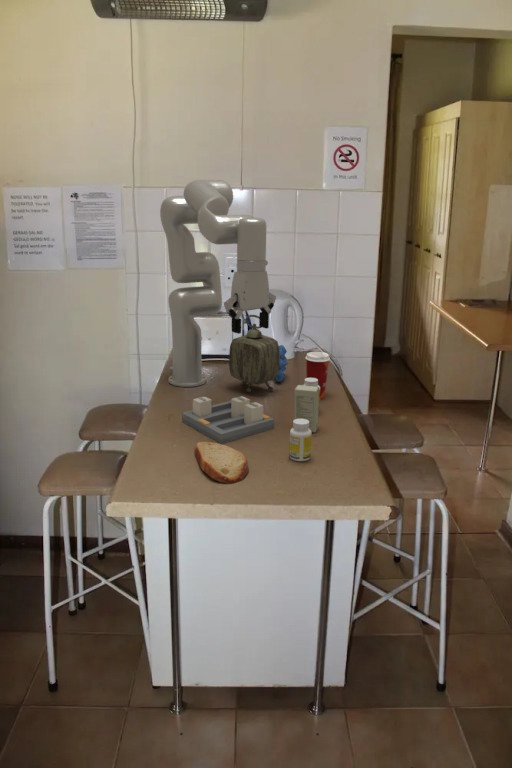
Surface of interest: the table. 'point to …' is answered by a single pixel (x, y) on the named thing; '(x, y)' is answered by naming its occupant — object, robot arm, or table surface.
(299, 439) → the supplement bottle
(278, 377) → the grapes
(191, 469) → the table surface
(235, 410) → the tab
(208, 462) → the bread slice
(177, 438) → the table surface
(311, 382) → the supplement bottle
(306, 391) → the skincare box
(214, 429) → the switch bank
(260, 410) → the tab
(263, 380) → the tabletop clock
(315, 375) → the paper cup
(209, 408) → the beige switch slider block
